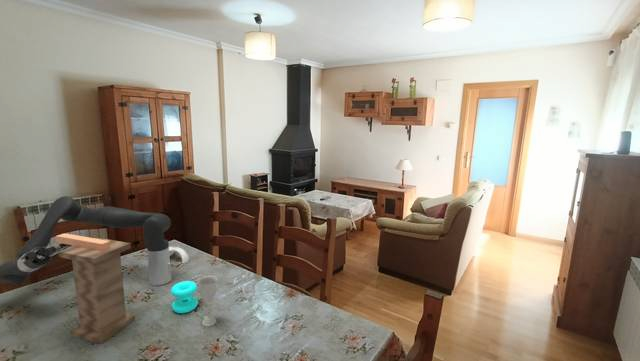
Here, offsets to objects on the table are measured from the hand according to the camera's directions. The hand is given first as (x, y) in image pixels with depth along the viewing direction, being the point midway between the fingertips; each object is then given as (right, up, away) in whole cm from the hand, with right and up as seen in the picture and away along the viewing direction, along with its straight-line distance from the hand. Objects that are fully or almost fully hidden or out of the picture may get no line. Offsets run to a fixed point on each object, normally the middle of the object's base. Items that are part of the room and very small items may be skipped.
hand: (58, 244), depth 115 cm
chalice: (+55, -32, +5) cm, 64 cm away
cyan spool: (+42, -30, +14) cm, 53 cm away
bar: (+12, +1, -4) cm, 13 cm away
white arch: (+14, -21, +60) cm, 65 cm away
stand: (+17, -31, 0) cm, 36 cm away
